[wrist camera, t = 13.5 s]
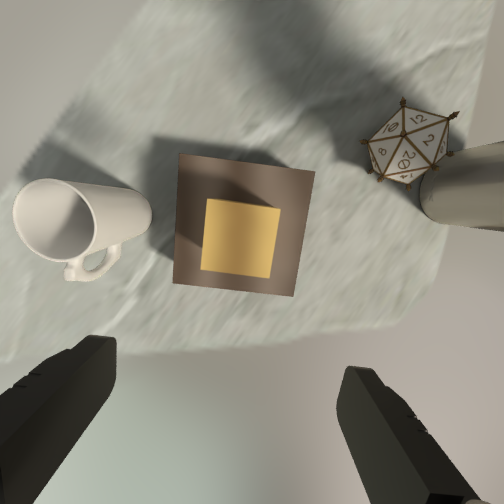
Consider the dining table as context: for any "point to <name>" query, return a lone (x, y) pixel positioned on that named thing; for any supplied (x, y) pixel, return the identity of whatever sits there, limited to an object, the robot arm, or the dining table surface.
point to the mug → (78, 222)
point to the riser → (248, 191)
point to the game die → (409, 144)
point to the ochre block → (239, 237)
